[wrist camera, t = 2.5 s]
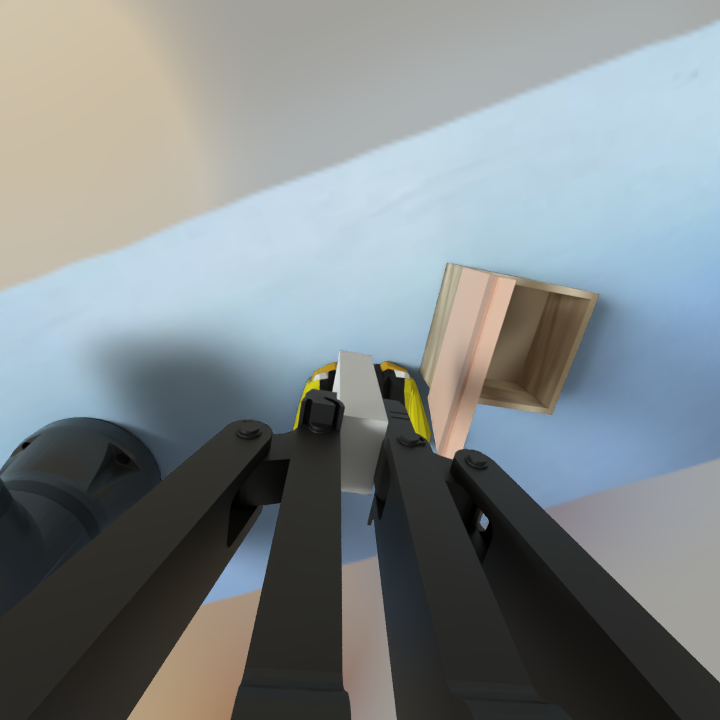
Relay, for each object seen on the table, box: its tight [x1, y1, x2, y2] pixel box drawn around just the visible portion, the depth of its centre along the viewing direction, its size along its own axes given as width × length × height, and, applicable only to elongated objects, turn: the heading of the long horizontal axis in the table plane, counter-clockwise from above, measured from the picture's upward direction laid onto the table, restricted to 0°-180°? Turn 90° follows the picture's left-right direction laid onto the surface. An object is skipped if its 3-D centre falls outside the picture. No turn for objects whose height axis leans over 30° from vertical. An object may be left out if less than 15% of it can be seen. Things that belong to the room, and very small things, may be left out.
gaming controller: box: [293, 361, 431, 444], centre depth 39 cm, size 15×6×10 cm
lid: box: [428, 267, 516, 459], centre depth 26 cm, size 12×12×1 cm
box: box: [419, 263, 599, 415], centre depth 36 cm, size 12×12×7 cm
